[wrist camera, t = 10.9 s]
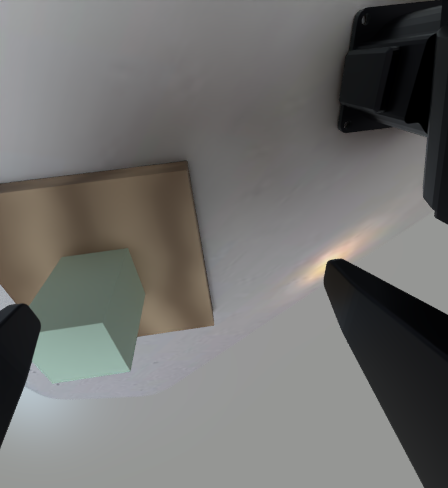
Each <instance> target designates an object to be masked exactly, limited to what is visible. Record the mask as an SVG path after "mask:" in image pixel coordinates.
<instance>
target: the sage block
mask: <svg viewBox="0 0 448 488" xmlns="http://www.w3.org/2000/svg"><path fill="white" fill-rule="evenodd" d="M144 299H145V292H144V289H143V286H142V284H141V281H140V278H139V276H138V273H137V271H136V268H135V265H134V263H133V260H132V258H131V255H130V252H129V250H128V248H125V249H118V250H110V251H103V252H96V253H89V254H81V255H74V256H67V257H61V259H60V260H59V262H58V263H57V265H56V266H55V268H54V269H53V271H52V272H51V274H50V275H49V277H48V278H47V280H46V281H45V283H44V284H43V286H42V287H41V289H40V290H39V292H38V293H37V295H36V296H35V298H34V299H33V301H32V302H31V304H30V305H29V307H30V308H31V309H32V311H33V312H34V313H35V315H36V316H37V317H38V319H39V320H40V322H41V330H40V334H39V337H38V341H37V345H36V348H35V352H34V356H33V359H32V362H33V363H34V364H35V365H36V366H37V367H38V368H39V370H40V371H41V372H42V373H43V374H44V375H45V376H46V377H47V378H48V379H49V380H50V381H51V382H52V383H53V384H54V383H60V382H67V381H73V380H79V379H86V378H92V377H99V376H105V375H112V374H118V373H125V372H130V371H131V366H132V360H133V355H134V350H135V345H136V340H137V335H138V330H139V325H140V319H141V314H142V309H143V304H144Z"/></svg>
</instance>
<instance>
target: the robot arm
mask: <svg viewBox="0 0 448 488" xmlns="http://www.w3.org/2000/svg"><path fill="white" fill-rule="evenodd" d="M364 15H366V17H367V20H366V23H365V24H364V25H363V24H362V17H363V16H364ZM339 101H340V102H341V108H340V115H339V121H338V129H339V130H340V131H342V132H344V133H349V132H357V131H365V130H373V129H382V128H390V127H395V128H398V129H402V130H405V131H408V132H412V133H415V134H418V135H422V136H425V137H427V145H426V157H425V168H424V180H423V198H424V199H425V200H426V202H427V203H428V204H429V206H430V207H431V208H432V209H433V210H435V213H434V214H435V215H434V216H435V218H437V219H439V220H440V221H442V222H444V223H446V224H448V0H435V1H426V2H416V3H406V4H397V5H387V6H377V7H368V8H365V9H362V10H360V11H359V12H358V13H357V15H356V16H355V19H354V23H353V30H352V36H351V43H350V49H349V53H348V54H347V55H346V58H345V65H344V72H343V79H342V85H341V92H340V99H339ZM347 121H348V122H349V124H348V126H347V127H345V128H344V124H345V123H346V122H347ZM324 287H325V289H326V292H327V295H328V297H329V300H330V302H331V305H332V308H333V310H334V313H335V315H336V318H337V320H338V323H339V325H340V328H341V330H342V332H343V334H344V336H345V338H346V340H347V342H348V344H349V346H350V348H351V350H352V352H353V354H354V355H355V357H356V359H357V361H358V363H359V365H360V367H361V369H362V370H363V373H364V374H365V376H366V378H367V380H368V382H369V384H370V386H371V388H372V390H373V391H374V393H375V395H376V397H377V399H378V401H379V403H380V405H381V407H382V409H383V410H384V412H385V414H386V416H387V418H388V420H389V422H390V424H391V426H392V428H393V429H394V431H395V433H396V435H397V437H398V439H399V441H400V443H401V445H402V446H403V448H404V450H405V452H406V454H407V456H408V458H409V460H410V462H411V464H412V466H413V467H414V469H415V471H416V473H417V475H418V477H419V479H420V481H421V483H422V484H423V486H424V488H448V315H447V314H445V313H443V312H441V311H440V310H438V309H436V308H434V307H432V306H430V305H429V304H427V303H424V302H423V301H421V300H419V299H417V298H415V297H413V296H412V295H410V294H408V293H406V292H404V291H402V290H400V289H398V288H396V287H394V286H393V285H390V284H389V283H387V282H385V281H383V280H381V279H380V278H378V277H376V276H374V275H372V274H370V273H368V272H366V271H364V270H362V269H361V268H359V267H357V266H355V265H353V264H351V263H349V262H348V261H346V260H344V259H334V260H329V261H328V262H327V264H326V270H325V275H324ZM40 330H41V322H40V320H39V319H38V317H37V316H36V315H35V313H34V312H33V311H32V309H31V308H30V307H29V306H28V305H27V304H25V303H20V304H13V305H9V306H7V307H5V308H4V309H2V310H1V311H0V448H1V445H2V442H3V440H4V437H5V435H6V432H7V430H8V427H9V425H10V422H11V419H12V417H13V414H14V412H15V409H16V406H17V404H18V401H19V399H20V396H21V393H22V391H23V388H24V386H25V383H26V380H27V377H28V373H29V370H30V366H31V363H32V359H33V356H34V352H35V348H36V345H37V341H38V337H39V334H40Z"/></svg>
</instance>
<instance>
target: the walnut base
mask: <svg viewBox="0 0 448 488" xmlns="http://www.w3.org/2000/svg"><path fill="white" fill-rule="evenodd" d="M125 248H128V250H129V252H130V255H131V258H132V260H133V263H134V265H135V268H136V271H137V273H138V276H139V278H140V281H141V284H142V286H143V289H144V292H145V299H144V304H143V309H142V314H141V319H140V325H139V330H138V335H137V337H139V336H146V335H152V334H159V333H166V332H173V331H180V330H186V329H193V328H200V327H207V326H214V318H213V309H212V303H211V297H210V291H209V285H208V279H207V273H206V268H205V262H204V256H203V250H202V244H201V238H200V232H199V227H198V221H197V215H196V209H195V203H194V197H193V192H192V186H191V180H190V174H189V168H188V162H187V161H181V162H173V163H165V164H157V165H149V166H141V167H132V168H124V169H116V170H108V171H100V172H92V173H84V174H76V175H67V176H59V177H51V178H43V179H35V180H27V181H19V182H10V183H2V184H0V284H1V286H2V287H3V288H4V289H5V291H6V292H7V293H8V294H9V296H10V297H11V298H12V299H13V300H14V302H15V303H16V304H20V303H25V304H27V305H28V306H29V305H30V304H31V302H32V301H33V299H34V298H35V296H36V295H37V293H38V292H39V290H40V289H41V287H42V286H43V284H44V283H45V281H46V280H47V278H48V277H49V275H50V274H51V272H52V271H53V269H54V268H55V266H56V265H57V263H58V262H59V260H60V259H61V257H67V256H74V255H81V254H89V253H96V252H103V251H110V250H118V249H125Z"/></svg>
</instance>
